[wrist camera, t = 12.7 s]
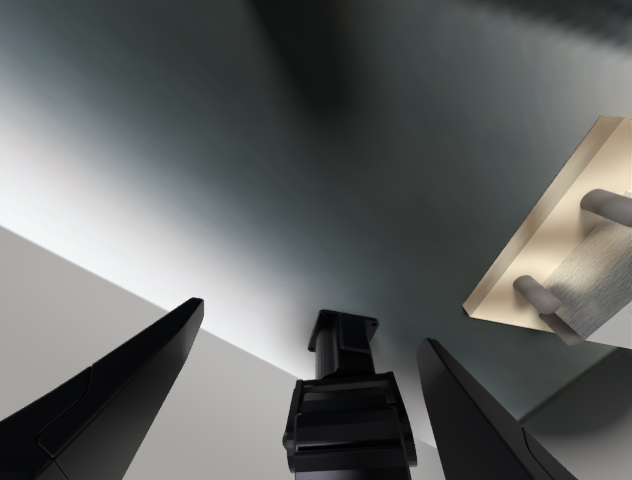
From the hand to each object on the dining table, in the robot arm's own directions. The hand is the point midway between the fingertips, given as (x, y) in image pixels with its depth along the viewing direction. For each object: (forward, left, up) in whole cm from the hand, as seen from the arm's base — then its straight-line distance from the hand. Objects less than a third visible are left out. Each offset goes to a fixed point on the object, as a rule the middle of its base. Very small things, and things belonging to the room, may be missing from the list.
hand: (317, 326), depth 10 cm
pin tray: (+2, -24, -12) cm, 27 cm away
